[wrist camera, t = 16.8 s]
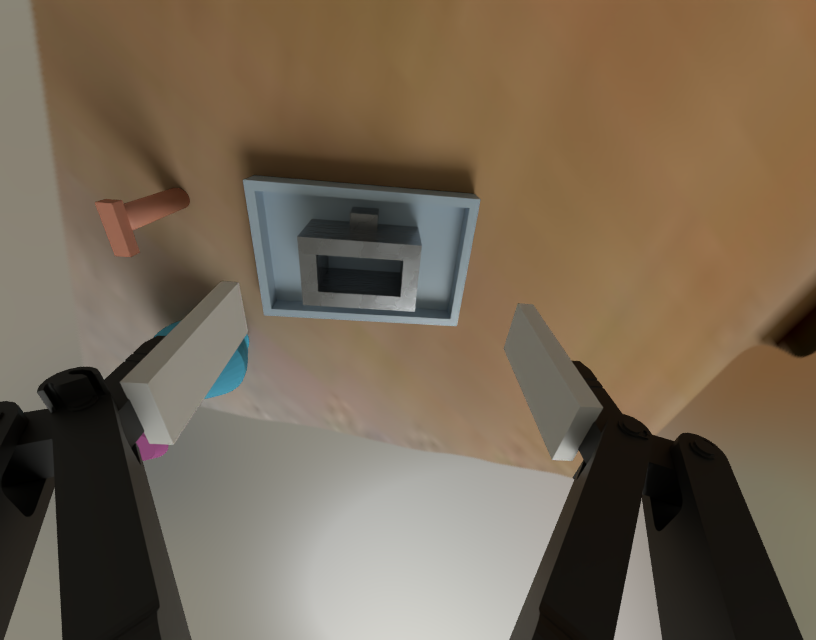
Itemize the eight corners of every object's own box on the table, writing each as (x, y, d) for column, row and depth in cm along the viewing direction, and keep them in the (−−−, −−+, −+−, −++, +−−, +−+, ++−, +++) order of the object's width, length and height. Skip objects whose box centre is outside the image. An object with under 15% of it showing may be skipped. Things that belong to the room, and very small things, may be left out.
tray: (253, 175, 30) (242, 179, 28) (474, 193, 31) (480, 199, 29) (271, 303, 37) (264, 315, 34) (453, 314, 38) (456, 326, 36)
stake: (164, 180, 30) (88, 201, 23) (185, 182, 30) (117, 203, 23) (175, 223, 32) (110, 255, 25) (195, 224, 32) (136, 257, 25)
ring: (315, 279, 35) (302, 305, 30) (310, 203, 31) (295, 218, 26) (412, 285, 35) (414, 311, 31) (419, 211, 31) (423, 228, 27)
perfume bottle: (158, 327, 38) (35, 436, 25) (214, 286, 35) (111, 383, 23) (222, 379, 42) (146, 495, 29) (277, 345, 40) (220, 455, 27)
